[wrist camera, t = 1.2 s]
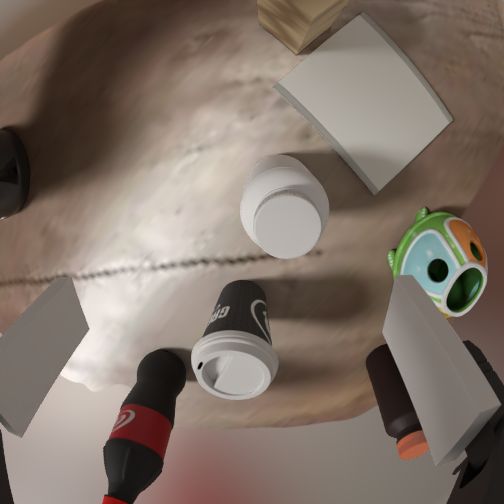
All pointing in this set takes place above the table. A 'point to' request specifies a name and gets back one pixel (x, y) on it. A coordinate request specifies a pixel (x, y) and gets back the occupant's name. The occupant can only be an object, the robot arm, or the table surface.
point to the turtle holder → (443, 261)
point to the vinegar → (395, 404)
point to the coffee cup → (236, 345)
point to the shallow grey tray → (366, 101)
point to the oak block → (298, 19)
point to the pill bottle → (283, 207)
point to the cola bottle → (143, 428)
